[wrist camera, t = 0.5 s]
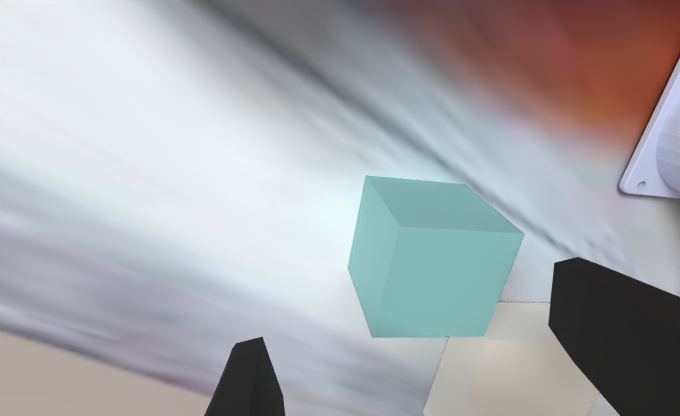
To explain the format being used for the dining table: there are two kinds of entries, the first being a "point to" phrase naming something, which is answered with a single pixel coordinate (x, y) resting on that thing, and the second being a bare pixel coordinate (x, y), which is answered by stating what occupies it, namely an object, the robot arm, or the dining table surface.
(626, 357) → the robot arm
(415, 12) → the dining table surface
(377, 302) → the teal block
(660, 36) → the dining table surface
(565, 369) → the stone plinth
